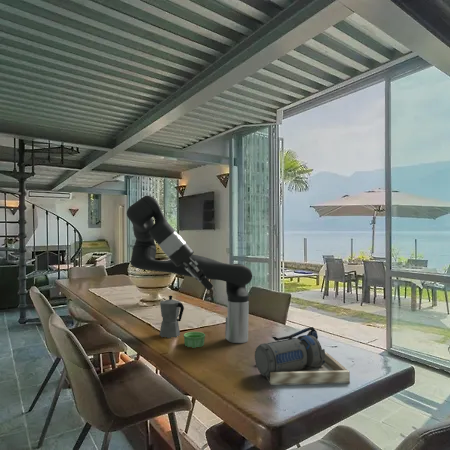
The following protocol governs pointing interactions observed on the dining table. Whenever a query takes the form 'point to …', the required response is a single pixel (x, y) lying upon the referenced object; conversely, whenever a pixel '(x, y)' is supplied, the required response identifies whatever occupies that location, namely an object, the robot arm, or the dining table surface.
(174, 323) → the coffeepot
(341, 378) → the cream flat rectangular tray
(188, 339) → the ramekin
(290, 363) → the beverage bottle
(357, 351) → the dining table surface
